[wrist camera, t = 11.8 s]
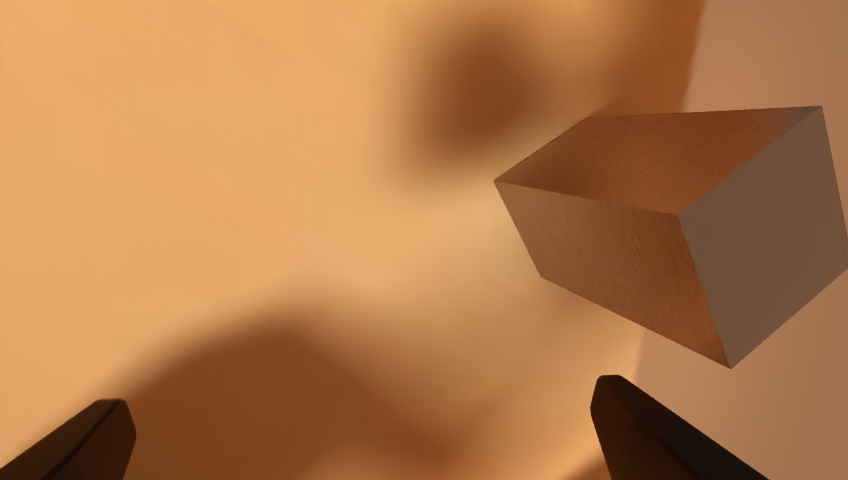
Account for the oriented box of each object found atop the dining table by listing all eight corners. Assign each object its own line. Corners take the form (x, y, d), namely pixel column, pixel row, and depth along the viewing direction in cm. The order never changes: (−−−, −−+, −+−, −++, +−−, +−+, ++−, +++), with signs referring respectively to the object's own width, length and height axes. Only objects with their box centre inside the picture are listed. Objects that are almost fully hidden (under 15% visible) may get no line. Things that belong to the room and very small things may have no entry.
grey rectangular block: (541, 276, 25) (731, 369, 15) (493, 180, 23) (677, 215, 13) (624, 215, 26) (852, 263, 16) (586, 117, 24) (821, 105, 14)
